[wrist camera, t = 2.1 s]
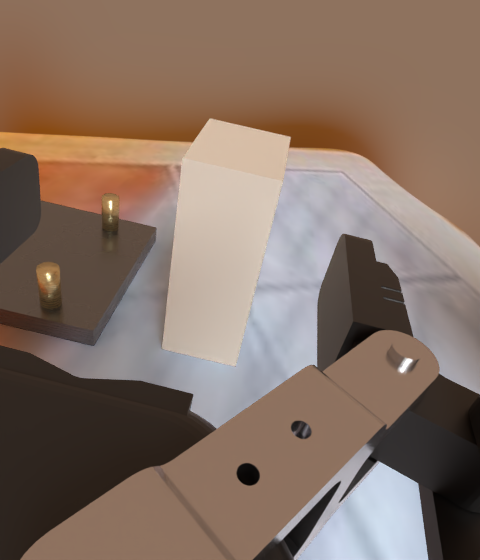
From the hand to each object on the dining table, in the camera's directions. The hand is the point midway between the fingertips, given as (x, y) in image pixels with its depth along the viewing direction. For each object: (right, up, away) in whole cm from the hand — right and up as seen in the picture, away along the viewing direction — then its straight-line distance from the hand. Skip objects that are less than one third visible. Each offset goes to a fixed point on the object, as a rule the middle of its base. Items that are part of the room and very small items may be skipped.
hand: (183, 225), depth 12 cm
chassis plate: (-13, 0, +19) cm, 23 cm away
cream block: (-1, -4, +17) cm, 18 cm away
